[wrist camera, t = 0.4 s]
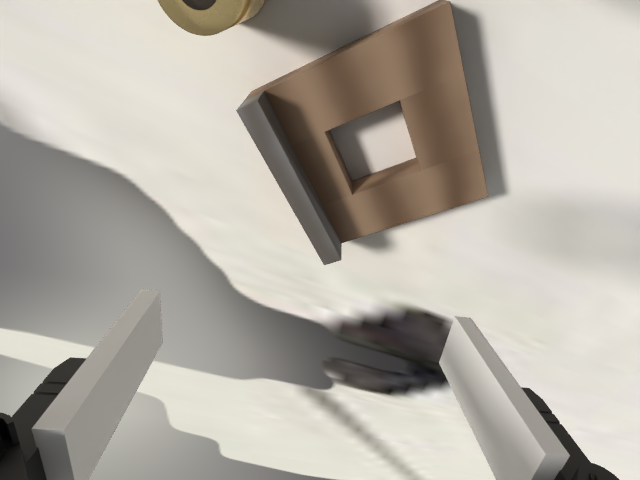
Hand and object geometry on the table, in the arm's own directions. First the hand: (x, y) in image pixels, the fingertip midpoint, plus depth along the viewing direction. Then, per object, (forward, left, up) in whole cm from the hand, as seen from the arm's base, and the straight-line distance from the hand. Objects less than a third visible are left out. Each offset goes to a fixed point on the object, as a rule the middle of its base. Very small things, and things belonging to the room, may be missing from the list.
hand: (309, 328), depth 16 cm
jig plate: (-4, +2, -25) cm, 25 cm away
